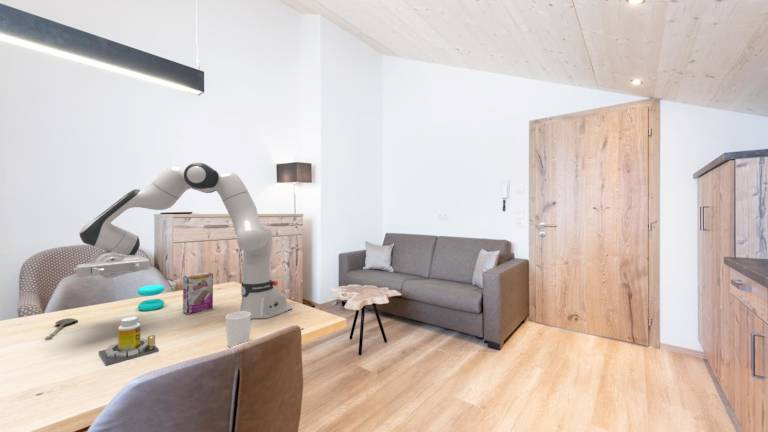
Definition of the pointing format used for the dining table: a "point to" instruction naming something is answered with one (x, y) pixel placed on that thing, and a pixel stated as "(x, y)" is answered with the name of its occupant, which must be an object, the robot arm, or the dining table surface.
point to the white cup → (238, 328)
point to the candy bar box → (197, 292)
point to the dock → (128, 351)
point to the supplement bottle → (128, 334)
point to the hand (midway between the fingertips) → (119, 269)
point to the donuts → (151, 303)
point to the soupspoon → (61, 323)
